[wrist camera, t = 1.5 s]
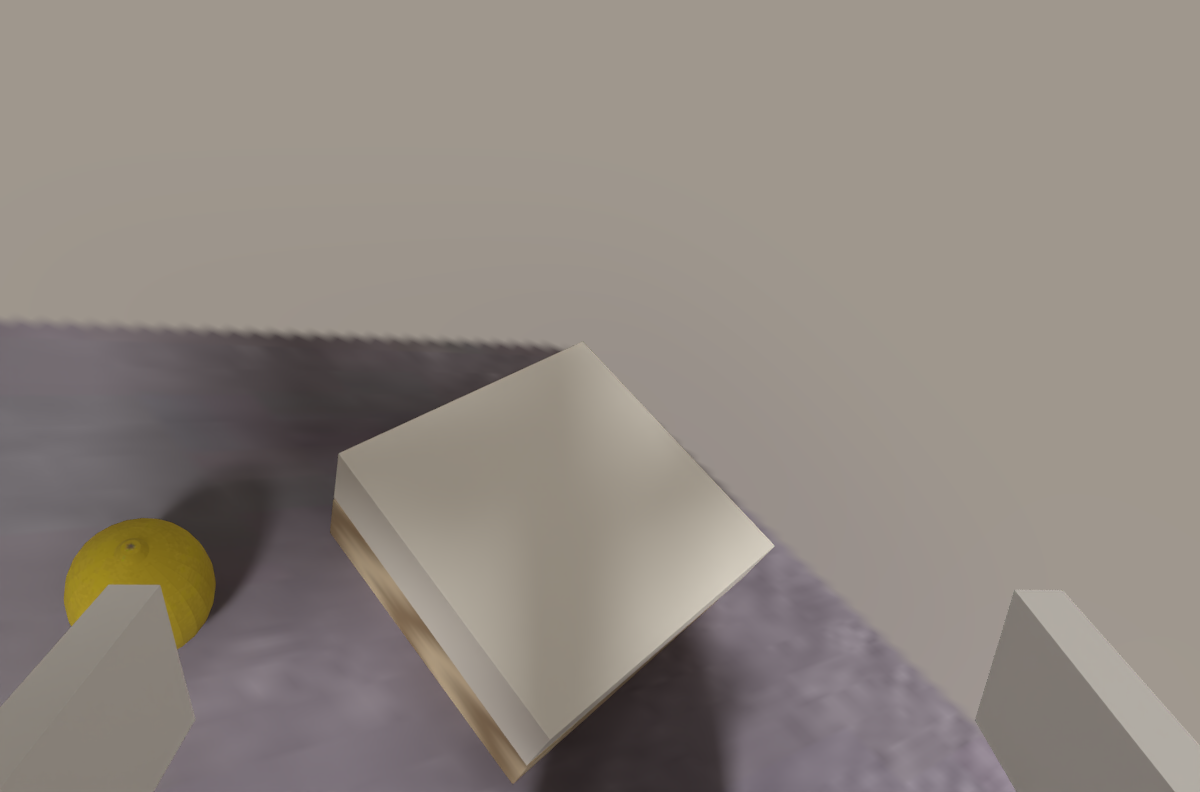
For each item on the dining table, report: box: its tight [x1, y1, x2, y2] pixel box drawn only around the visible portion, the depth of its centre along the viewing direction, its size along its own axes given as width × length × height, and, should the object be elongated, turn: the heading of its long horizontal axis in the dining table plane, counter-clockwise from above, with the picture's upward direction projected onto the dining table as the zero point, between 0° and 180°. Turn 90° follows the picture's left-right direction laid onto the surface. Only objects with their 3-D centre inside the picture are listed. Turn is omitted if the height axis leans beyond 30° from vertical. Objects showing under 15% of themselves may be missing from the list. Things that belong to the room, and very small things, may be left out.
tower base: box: [330, 499, 715, 784], centre depth 43 cm, size 16×16×4 cm
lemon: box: [64, 518, 216, 649], centre depth 33 cm, size 6×6×8 cm
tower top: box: [334, 342, 774, 766], centre depth 40 cm, size 16×16×4 cm
